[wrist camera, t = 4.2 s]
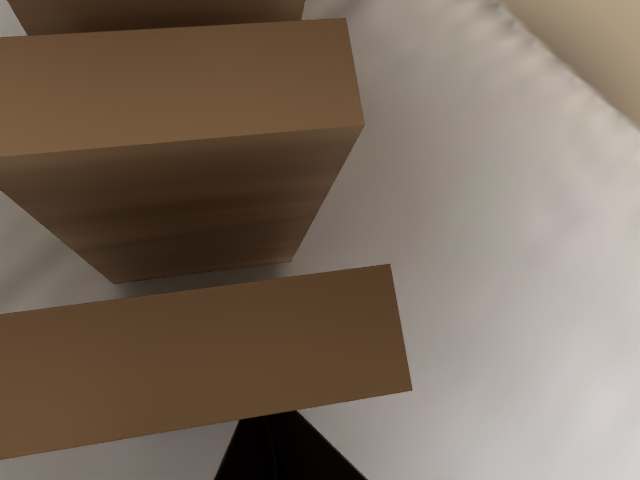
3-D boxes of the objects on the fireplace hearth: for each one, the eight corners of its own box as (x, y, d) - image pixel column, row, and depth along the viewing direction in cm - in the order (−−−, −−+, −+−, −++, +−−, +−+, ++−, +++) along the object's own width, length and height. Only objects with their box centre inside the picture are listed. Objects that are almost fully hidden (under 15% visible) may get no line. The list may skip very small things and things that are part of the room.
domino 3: (274, 149, 19) (324, -99, 9) (103, 164, 18) (-46, -90, 8) (267, 99, 19) (308, -190, 9) (98, 113, 18) (-50, -192, 8)
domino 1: (308, 383, 17) (412, 389, 8) (125, 412, 16) (-23, 464, 7) (300, 325, 18) (389, 264, 8) (119, 352, 17) (-29, 318, 7)
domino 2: (290, 261, 18) (365, 124, 8) (113, 283, 17) (-37, 159, 7) (283, 209, 18) (345, 17, 9) (108, 227, 17) (-41, 39, 8)
